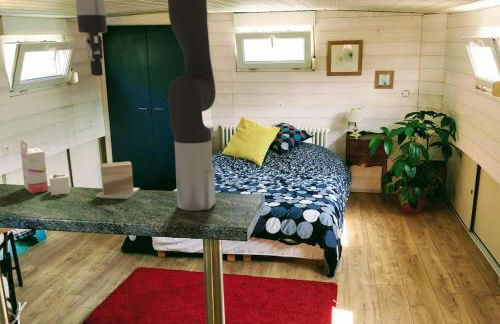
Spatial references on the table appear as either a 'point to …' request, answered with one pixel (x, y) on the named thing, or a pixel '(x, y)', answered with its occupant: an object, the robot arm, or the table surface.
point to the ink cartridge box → (34, 169)
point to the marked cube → (59, 184)
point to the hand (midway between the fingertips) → (97, 75)
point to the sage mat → (119, 195)
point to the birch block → (117, 177)
